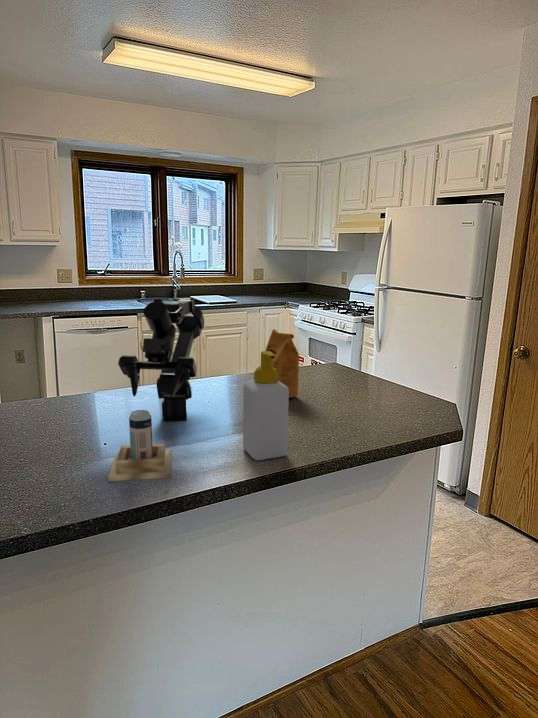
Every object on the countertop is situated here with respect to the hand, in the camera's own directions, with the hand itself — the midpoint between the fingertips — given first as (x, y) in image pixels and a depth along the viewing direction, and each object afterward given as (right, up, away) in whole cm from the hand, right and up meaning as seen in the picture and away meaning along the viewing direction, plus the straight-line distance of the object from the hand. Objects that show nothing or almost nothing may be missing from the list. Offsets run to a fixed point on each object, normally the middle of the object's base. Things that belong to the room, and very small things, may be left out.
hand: (152, 396), depth 122 cm
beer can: (-1, -15, -8) cm, 17 cm away
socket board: (-1, -15, -8) cm, 17 cm away
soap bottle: (+27, -14, +1) cm, 31 cm away
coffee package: (+32, -3, +47) cm, 57 cm away
